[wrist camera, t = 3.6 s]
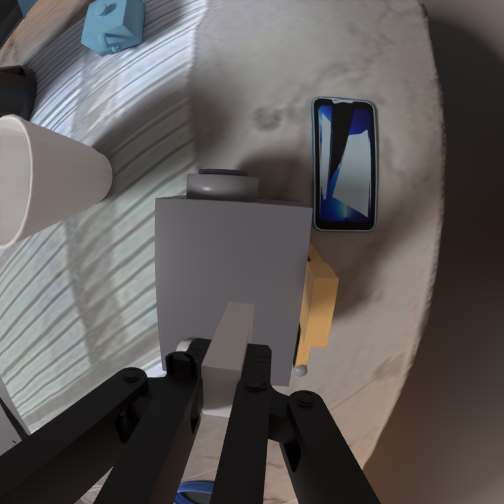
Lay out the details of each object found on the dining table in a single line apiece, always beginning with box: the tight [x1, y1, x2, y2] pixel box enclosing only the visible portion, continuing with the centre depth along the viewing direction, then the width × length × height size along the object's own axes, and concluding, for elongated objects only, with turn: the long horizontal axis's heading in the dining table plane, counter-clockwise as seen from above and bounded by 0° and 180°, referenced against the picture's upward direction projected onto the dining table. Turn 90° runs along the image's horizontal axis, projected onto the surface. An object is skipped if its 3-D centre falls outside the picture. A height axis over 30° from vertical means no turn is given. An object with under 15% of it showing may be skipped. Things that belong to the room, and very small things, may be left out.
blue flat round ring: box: [174, 481, 214, 504], centre depth 44 cm, size 18×18×4 cm
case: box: [155, 169, 313, 386], centre depth 27 cm, size 18×12×11 cm, turn 176°
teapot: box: [81, 0, 146, 57], centre depth 22 cm, size 12×6×8 cm, turn 4°
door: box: [293, 242, 339, 377], centre depth 25 cm, size 11×2×14 cm, turn 176°
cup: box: [0, 114, 113, 249], centre depth 23 cm, size 12×12×16 cm
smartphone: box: [311, 97, 377, 232], centre depth 29 cm, size 7×1×15 cm
